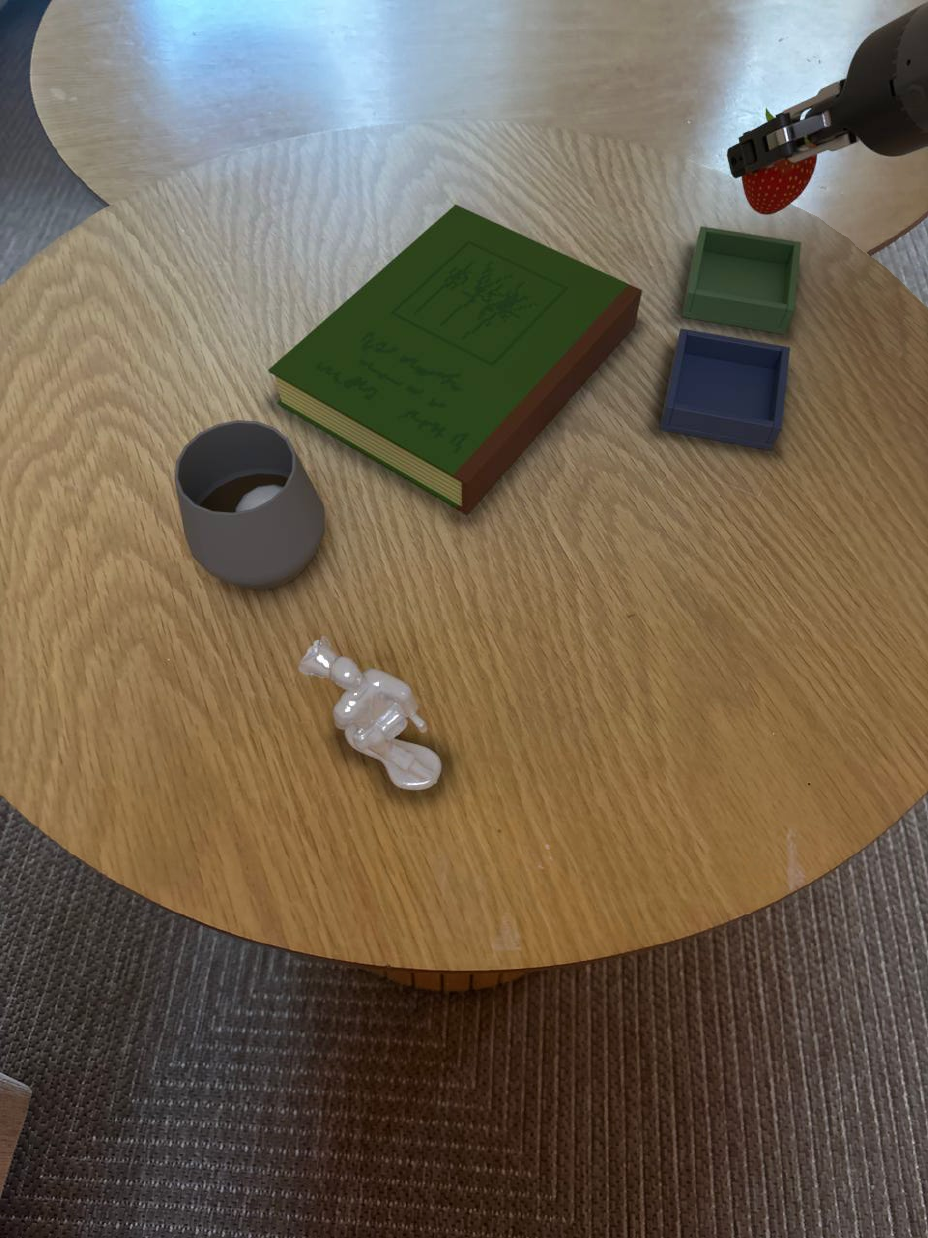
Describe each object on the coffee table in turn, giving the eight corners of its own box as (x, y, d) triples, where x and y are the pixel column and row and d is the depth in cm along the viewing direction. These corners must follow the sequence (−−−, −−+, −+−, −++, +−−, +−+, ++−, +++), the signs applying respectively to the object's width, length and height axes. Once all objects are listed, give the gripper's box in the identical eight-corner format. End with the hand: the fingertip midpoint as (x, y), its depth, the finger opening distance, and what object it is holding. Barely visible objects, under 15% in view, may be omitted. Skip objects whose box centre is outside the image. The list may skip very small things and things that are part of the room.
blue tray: (780, 370, 72) (790, 346, 70) (771, 451, 68) (781, 428, 66) (674, 352, 73) (680, 327, 71) (659, 429, 69) (665, 406, 67)
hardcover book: (467, 515, 65) (467, 483, 62) (277, 404, 71) (268, 369, 68) (639, 320, 75) (646, 284, 72) (461, 236, 81) (460, 199, 77)
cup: (262, 482, 67) (231, 387, 58) (358, 541, 64) (341, 450, 56) (173, 568, 63) (126, 481, 54) (272, 635, 60) (239, 553, 52)
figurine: (421, 810, 54) (410, 738, 44) (295, 745, 57) (256, 661, 46) (458, 745, 56) (455, 661, 46) (335, 685, 59) (305, 591, 48)
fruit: (802, 202, 71) (838, 102, 64) (788, 242, 69) (824, 143, 62) (736, 186, 72) (764, 87, 65) (720, 225, 70) (748, 126, 63)
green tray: (792, 266, 79) (801, 241, 76) (784, 334, 74) (794, 309, 72) (693, 250, 80) (700, 225, 77) (681, 316, 76) (687, 292, 73)
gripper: (1030, -36, 52) (825, 73, 68) (842, 28, 49) (672, 127, 65) (1048, 99, 55) (846, 174, 70) (869, 169, 51) (699, 232, 67)
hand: (763, 151), depth 67 cm, fingers closed on fruit, 5 cm apart
